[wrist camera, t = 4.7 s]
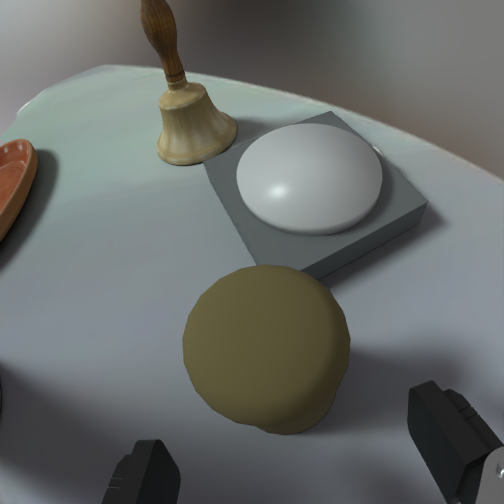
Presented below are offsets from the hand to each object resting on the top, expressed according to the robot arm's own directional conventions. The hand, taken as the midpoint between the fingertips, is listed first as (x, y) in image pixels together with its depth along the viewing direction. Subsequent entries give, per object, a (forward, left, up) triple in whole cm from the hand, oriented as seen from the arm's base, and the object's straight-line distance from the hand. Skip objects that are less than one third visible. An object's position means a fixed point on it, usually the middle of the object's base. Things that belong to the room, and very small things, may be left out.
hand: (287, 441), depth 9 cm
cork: (+1, +3, -9) cm, 9 cm away
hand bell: (+4, +27, -9) cm, 29 cm away
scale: (+9, +14, -9) cm, 19 cm away
